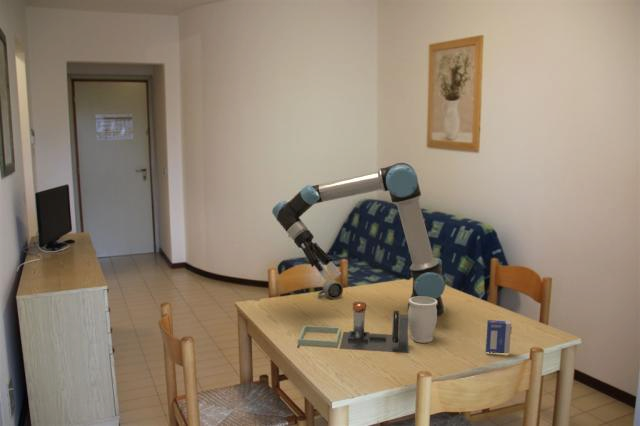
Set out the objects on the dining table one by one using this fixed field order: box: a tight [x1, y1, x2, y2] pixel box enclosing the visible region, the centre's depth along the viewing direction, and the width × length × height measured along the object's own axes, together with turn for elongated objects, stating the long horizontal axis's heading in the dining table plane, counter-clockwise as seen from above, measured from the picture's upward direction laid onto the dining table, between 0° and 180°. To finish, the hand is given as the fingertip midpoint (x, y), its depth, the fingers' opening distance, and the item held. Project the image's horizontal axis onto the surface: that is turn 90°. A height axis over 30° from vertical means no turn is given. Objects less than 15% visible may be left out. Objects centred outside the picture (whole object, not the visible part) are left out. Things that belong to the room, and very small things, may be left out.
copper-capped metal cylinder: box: [352, 301, 367, 338], centre depth 212 cm, size 5×5×13 cm
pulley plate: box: [339, 310, 410, 354], centre depth 208 cm, size 24×16×14 cm, turn 83°
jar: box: [407, 296, 438, 344], centre depth 214 cm, size 11×10×15 cm
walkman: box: [485, 319, 513, 354], centre depth 201 cm, size 8×3×12 cm, turn 81°
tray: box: [297, 325, 342, 348], centre depth 211 cm, size 14×14×3 cm
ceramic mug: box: [317, 279, 344, 300], centre depth 262 cm, size 11×8×8 cm
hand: (333, 276), depth 225 cm, fingers open, 13 cm apart
